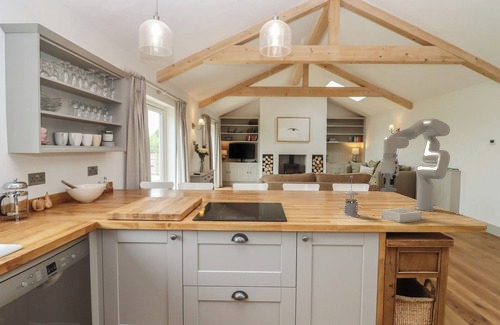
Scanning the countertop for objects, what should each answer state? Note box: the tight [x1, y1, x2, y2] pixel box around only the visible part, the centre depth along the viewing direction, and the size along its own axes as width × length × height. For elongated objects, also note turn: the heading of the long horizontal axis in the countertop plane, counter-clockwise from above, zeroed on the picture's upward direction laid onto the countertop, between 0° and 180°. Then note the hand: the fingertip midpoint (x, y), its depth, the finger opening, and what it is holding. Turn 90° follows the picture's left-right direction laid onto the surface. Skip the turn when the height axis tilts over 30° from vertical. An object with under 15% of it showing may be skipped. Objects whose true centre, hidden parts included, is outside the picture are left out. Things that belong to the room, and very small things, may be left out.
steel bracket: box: [379, 174, 398, 193], centre depth 169 cm, size 10×4×12 cm, turn 110°
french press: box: [342, 175, 360, 218], centre depth 167 cm, size 10×12×25 cm
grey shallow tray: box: [381, 207, 423, 224], centre depth 157 cm, size 18×12×5 cm, turn 111°
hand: (388, 184), depth 169 cm, fingers closed on steel bracket, 4 cm apart
